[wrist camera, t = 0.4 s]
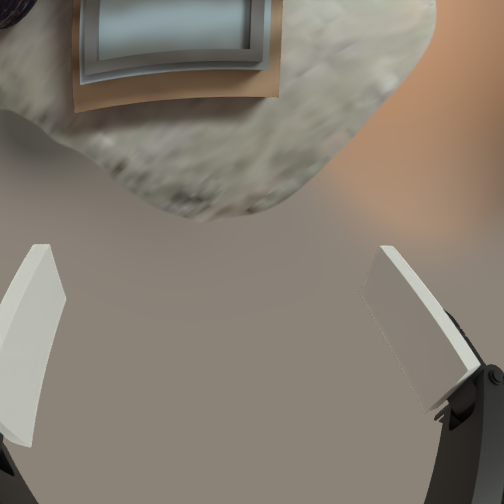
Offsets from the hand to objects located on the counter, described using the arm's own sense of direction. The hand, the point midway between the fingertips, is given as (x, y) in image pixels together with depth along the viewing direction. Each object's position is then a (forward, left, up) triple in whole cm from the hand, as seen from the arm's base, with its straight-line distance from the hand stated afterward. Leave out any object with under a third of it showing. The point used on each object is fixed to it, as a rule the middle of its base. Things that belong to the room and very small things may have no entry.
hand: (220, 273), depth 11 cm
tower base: (-16, -2, -27) cm, 32 cm away
